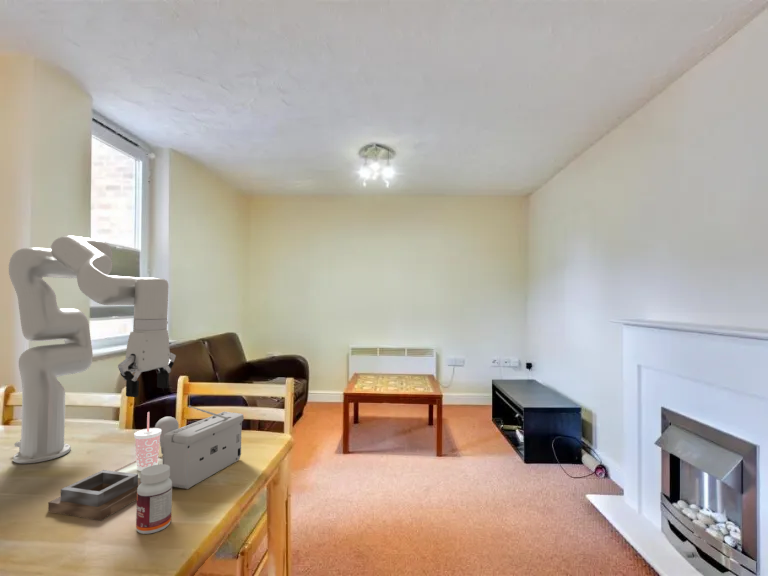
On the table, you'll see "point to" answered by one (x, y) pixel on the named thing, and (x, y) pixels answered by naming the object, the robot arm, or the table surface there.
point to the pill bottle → (154, 499)
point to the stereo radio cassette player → (202, 448)
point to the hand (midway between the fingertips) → (148, 391)
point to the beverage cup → (147, 446)
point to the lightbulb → (166, 427)
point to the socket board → (99, 493)
